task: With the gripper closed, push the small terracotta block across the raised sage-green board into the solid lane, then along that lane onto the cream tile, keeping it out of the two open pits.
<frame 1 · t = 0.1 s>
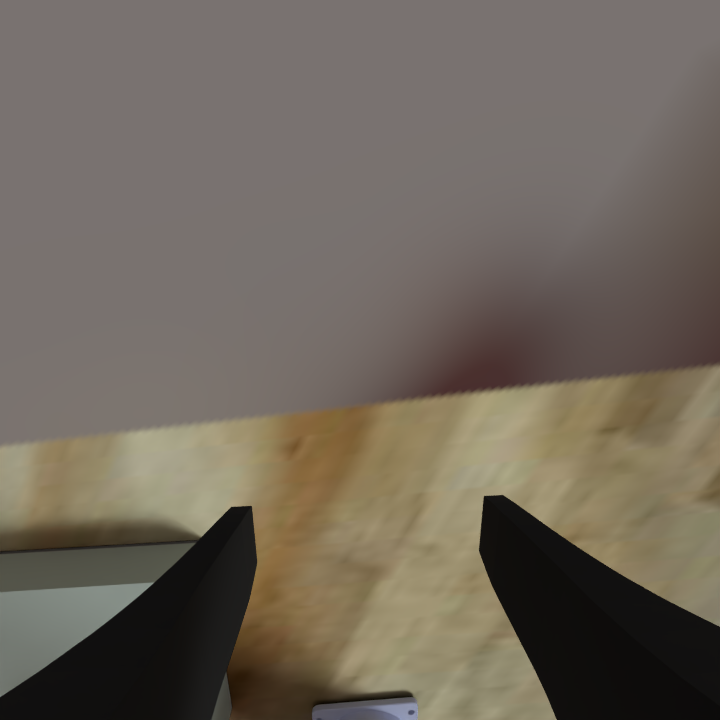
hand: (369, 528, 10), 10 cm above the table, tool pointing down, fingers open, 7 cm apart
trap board: (48, 642, 23), on the table
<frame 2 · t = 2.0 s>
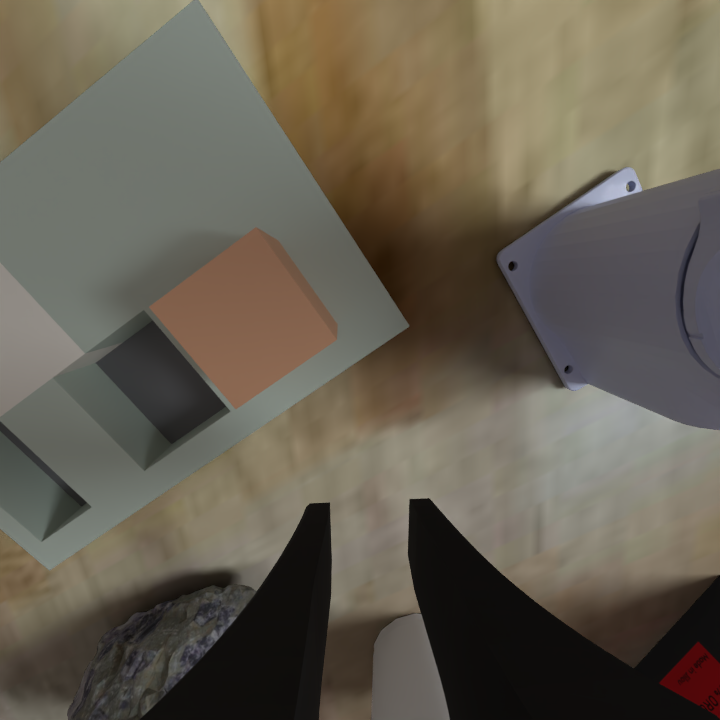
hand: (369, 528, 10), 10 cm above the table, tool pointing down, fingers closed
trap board: (146, 325, 18), on the table
cleaning product box: (686, 667, 27), on the table
terracotta block: (269, 312, 15), point 3 cm above the table, touching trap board
foam cup: (415, 644, 25), on the table
mineral rock: (189, 632, 24), on the table
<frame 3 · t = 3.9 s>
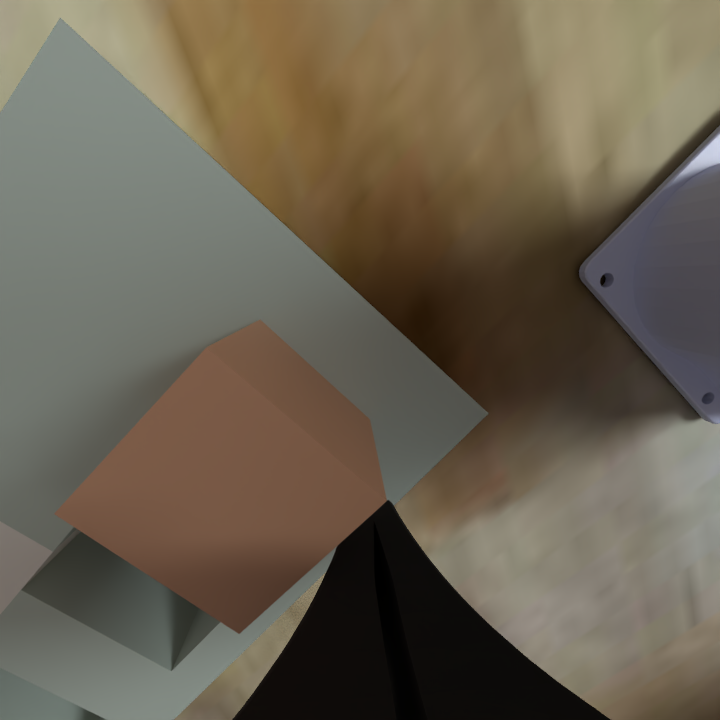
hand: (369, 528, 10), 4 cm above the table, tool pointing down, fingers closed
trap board: (133, 470, 14), on the table
terracotta block: (267, 422, 10), point 3 cm above the table, touching gripper
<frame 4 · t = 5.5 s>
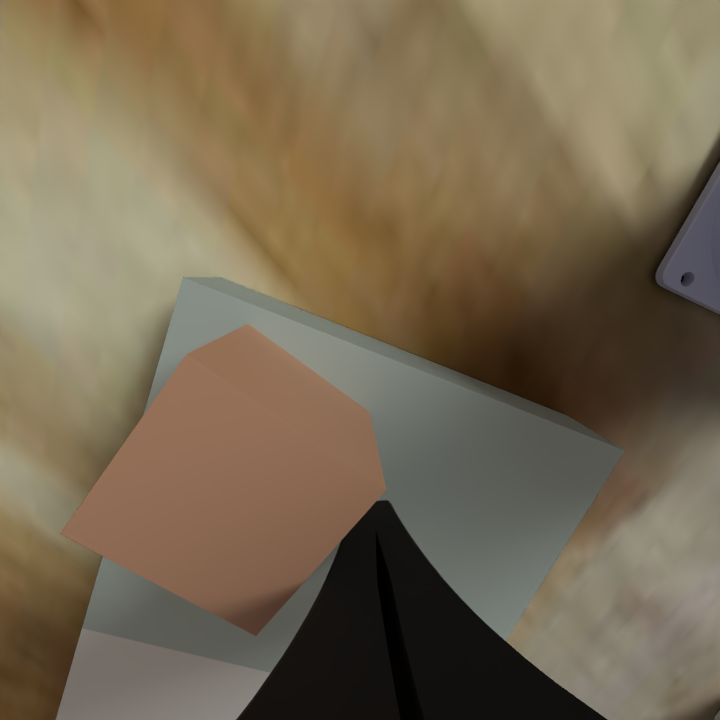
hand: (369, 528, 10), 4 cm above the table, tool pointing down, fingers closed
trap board: (306, 578, 16), on the table
terracotta block: (268, 424, 10), point 3 cm above the table, touching gripper, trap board
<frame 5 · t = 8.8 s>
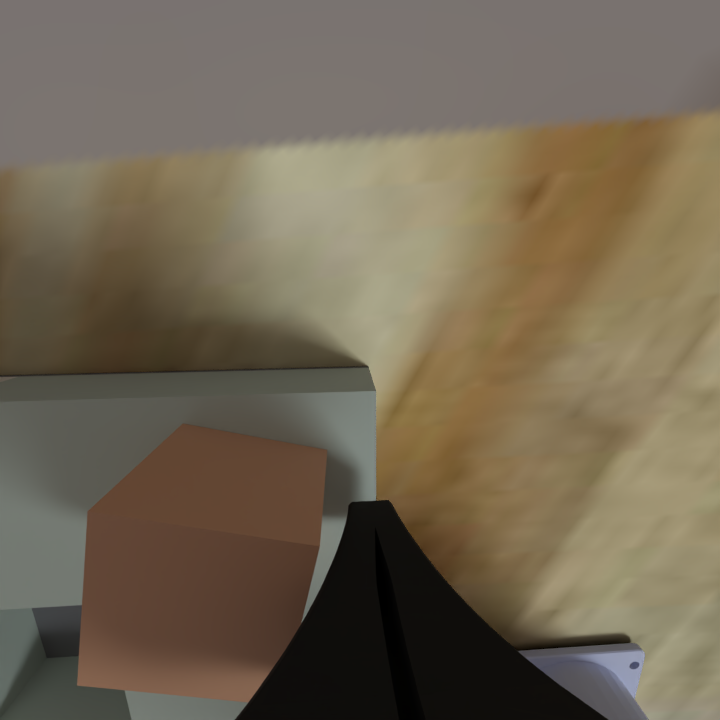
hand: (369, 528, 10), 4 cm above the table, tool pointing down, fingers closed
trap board: (103, 541, 15), on the table
terracotta block: (245, 498, 11), point 3 cm above the table, touching gripper
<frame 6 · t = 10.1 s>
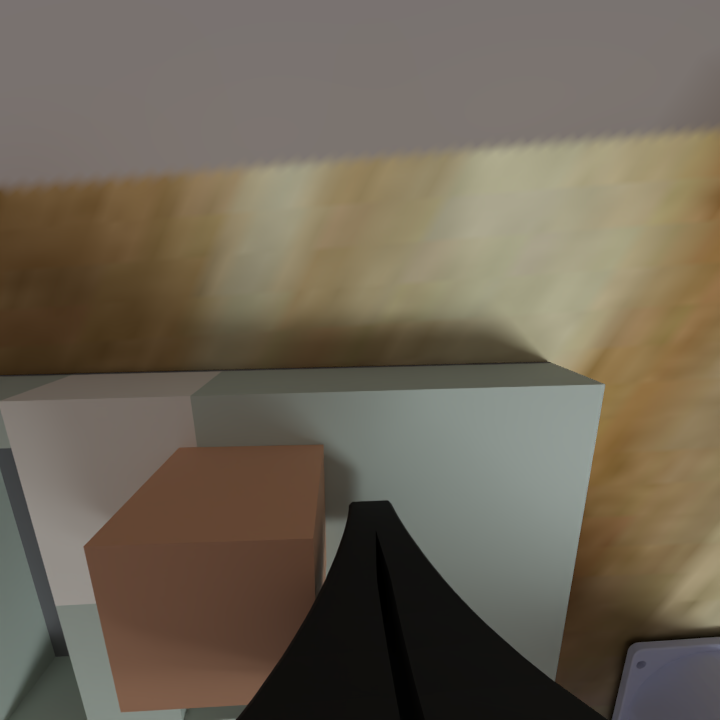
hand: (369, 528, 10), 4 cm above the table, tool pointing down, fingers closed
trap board: (276, 532, 15), on the table
terracotta block: (256, 507, 11), point 3 cm above the table, touching gripper
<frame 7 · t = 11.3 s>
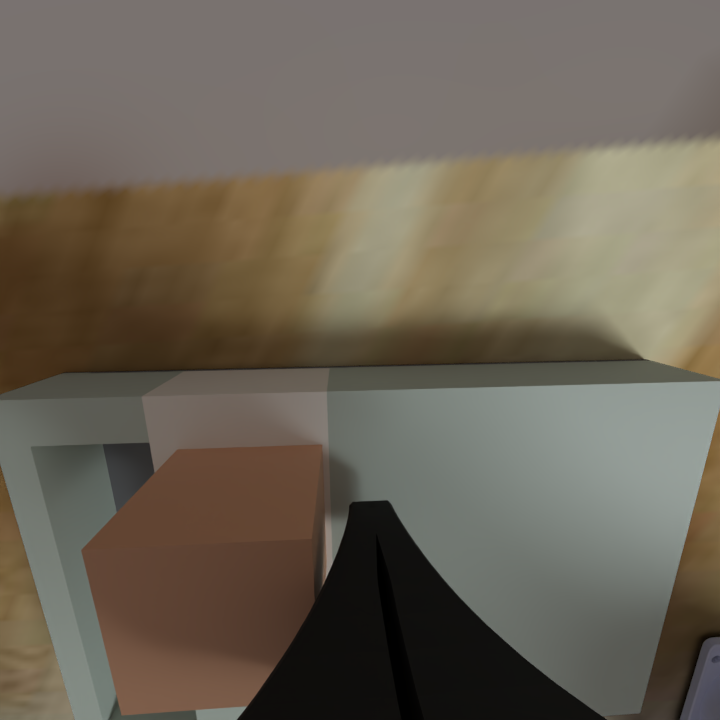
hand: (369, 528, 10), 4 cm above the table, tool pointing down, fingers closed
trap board: (368, 527, 15), on the table
terracotta block: (256, 508, 11), point 3 cm above the table, touching gripper, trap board
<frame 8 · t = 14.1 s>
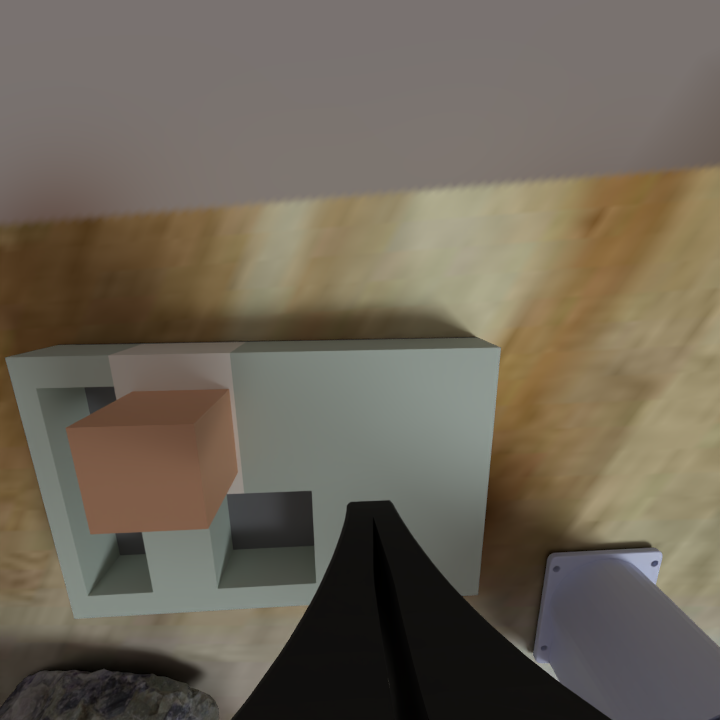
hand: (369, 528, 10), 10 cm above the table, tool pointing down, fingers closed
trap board: (282, 461, 21), on the table
terracotta block: (187, 433, 17), point 3 cm above the table, touching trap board
mineral rock: (122, 692, 25), on the table
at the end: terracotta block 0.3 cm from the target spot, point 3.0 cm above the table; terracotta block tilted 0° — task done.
